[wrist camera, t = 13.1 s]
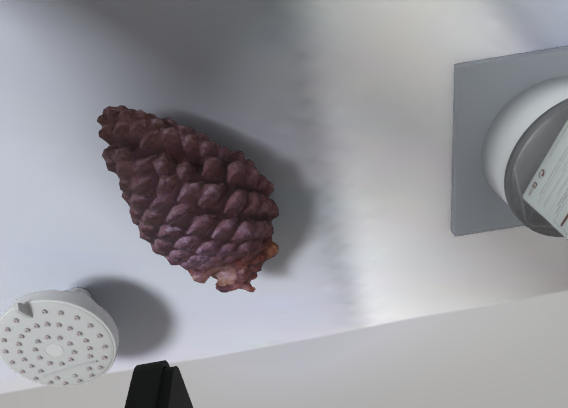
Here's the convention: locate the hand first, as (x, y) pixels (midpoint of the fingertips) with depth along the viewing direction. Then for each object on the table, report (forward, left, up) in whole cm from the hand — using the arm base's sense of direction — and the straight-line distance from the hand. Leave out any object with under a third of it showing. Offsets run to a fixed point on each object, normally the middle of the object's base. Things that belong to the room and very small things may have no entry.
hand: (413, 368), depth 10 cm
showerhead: (+18, -22, -30) cm, 42 cm away
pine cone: (+8, -8, -30) cm, 32 cm away
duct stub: (+10, +20, -30) cm, 37 cm away
